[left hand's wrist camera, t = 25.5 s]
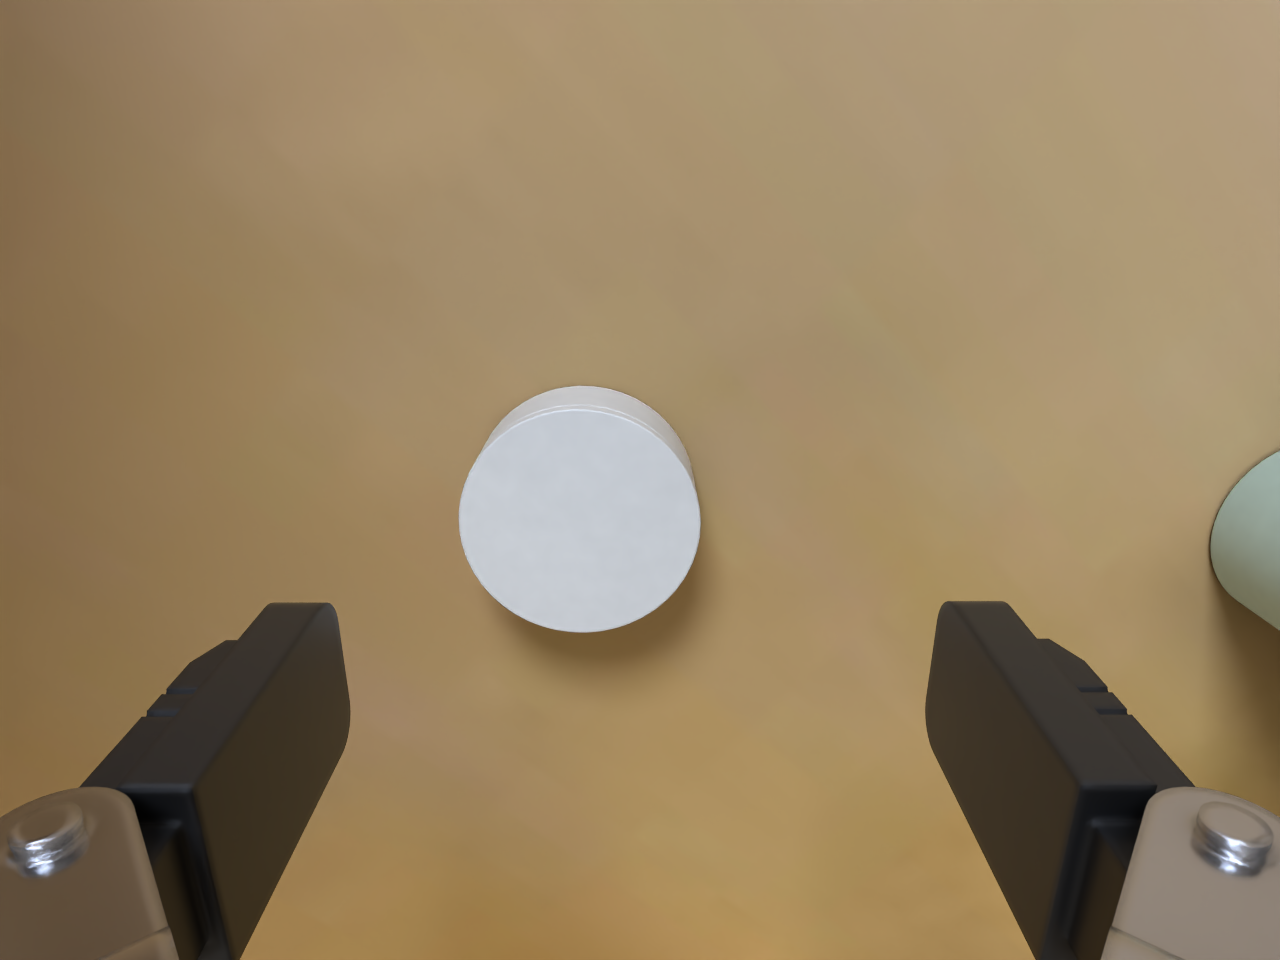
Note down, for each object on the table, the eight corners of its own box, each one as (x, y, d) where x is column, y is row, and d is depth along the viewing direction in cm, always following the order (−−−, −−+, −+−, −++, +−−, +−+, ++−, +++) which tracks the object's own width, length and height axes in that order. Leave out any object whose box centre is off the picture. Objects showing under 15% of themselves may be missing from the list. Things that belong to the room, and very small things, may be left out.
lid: (452, 405, 20) (432, 431, 18) (676, 367, 19) (681, 389, 17) (502, 603, 21) (488, 649, 19) (708, 571, 21) (716, 614, 19)
